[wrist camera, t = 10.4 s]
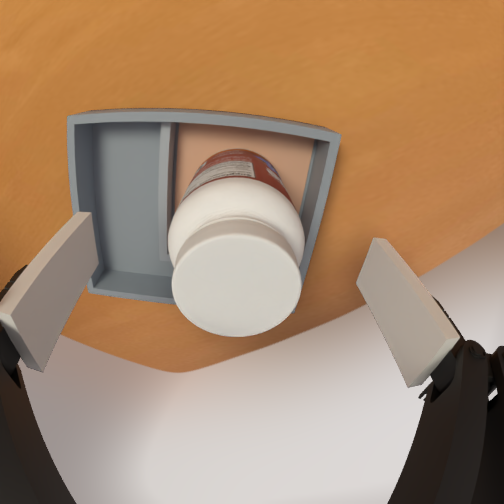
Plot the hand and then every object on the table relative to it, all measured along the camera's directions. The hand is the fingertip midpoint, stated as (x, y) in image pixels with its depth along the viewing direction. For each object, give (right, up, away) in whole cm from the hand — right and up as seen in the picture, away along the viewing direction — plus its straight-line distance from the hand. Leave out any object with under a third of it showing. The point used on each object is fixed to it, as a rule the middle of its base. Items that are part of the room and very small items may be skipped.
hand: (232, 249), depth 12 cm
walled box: (-3, +4, +8) cm, 10 cm away
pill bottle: (0, +4, +7) cm, 8 cm away
